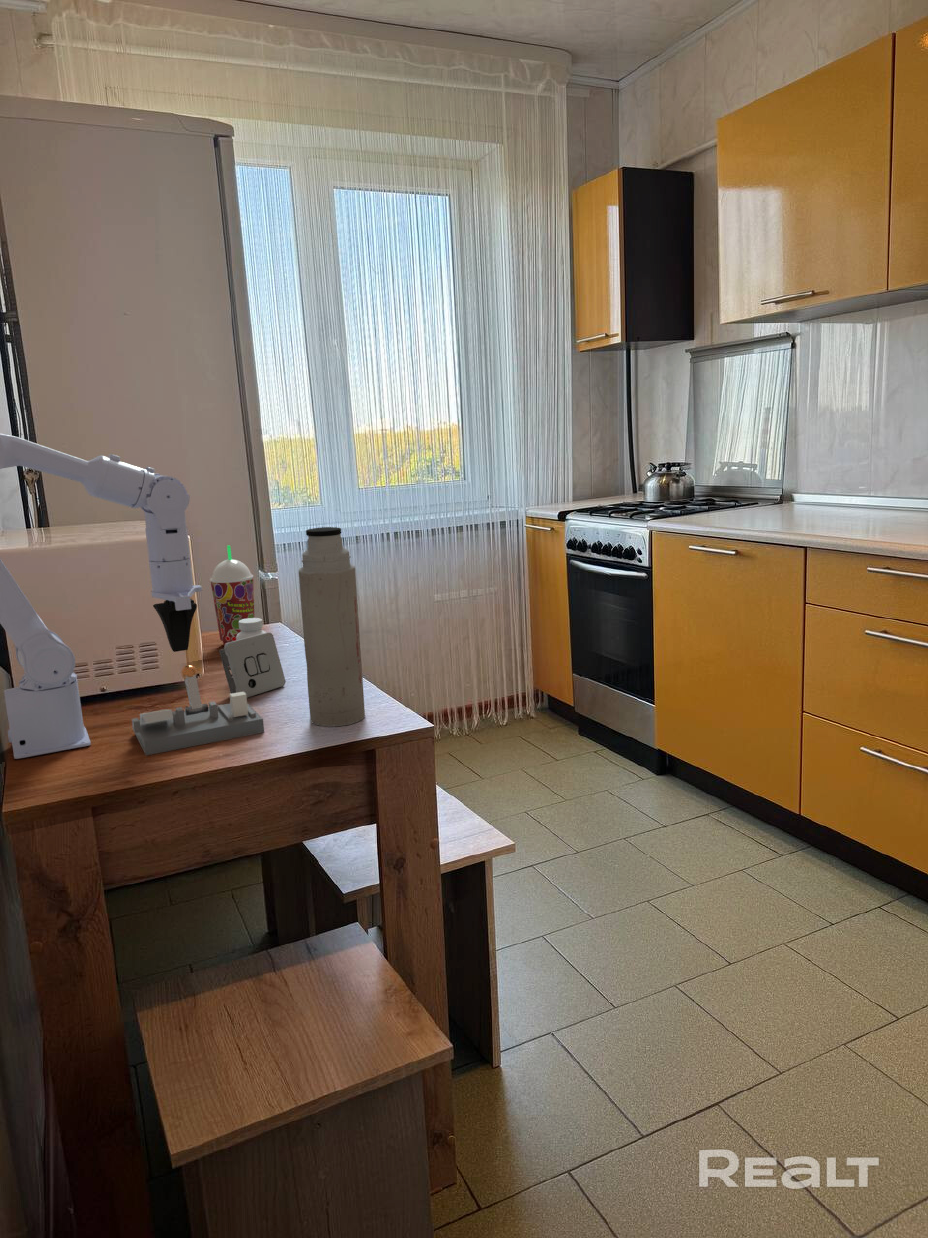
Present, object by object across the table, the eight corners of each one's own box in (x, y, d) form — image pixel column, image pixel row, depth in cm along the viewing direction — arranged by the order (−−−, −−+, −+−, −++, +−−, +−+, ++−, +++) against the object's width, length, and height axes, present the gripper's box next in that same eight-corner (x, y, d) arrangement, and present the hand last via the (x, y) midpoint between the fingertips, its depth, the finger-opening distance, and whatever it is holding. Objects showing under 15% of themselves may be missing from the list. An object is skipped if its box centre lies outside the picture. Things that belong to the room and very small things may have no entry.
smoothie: (237, 651, 170) (227, 549, 165) (207, 646, 174) (197, 547, 170) (268, 641, 177) (259, 543, 172) (239, 637, 181) (230, 541, 177)
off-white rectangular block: (234, 717, 123) (232, 696, 122) (231, 714, 125) (229, 694, 124) (248, 714, 124) (246, 694, 123) (245, 711, 125) (243, 691, 125)
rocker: (145, 723, 117) (144, 713, 117) (140, 722, 122) (139, 713, 122) (173, 718, 119) (171, 708, 119) (167, 717, 124) (165, 708, 124)
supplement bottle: (239, 679, 150) (233, 624, 148) (239, 671, 155) (234, 618, 153) (271, 676, 151) (266, 622, 149) (270, 668, 156) (265, 615, 154)
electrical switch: (241, 701, 138) (232, 644, 137) (221, 699, 142) (213, 643, 140) (287, 686, 145) (279, 632, 144) (267, 684, 149) (259, 631, 147)
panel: (141, 756, 116) (137, 727, 115) (130, 734, 124) (127, 708, 124) (264, 732, 123) (261, 705, 122) (246, 713, 132) (243, 687, 131)
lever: (187, 713, 121) (177, 664, 123) (185, 717, 123) (176, 669, 125) (209, 709, 123) (199, 661, 125) (207, 713, 125) (197, 666, 126)
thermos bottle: (366, 707, 132) (353, 523, 126) (363, 725, 125) (350, 529, 119) (313, 710, 132) (298, 526, 126) (307, 728, 124) (291, 532, 118)
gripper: (208, 562, 122) (218, 656, 125) (188, 551, 134) (197, 636, 137) (156, 567, 118) (167, 663, 121) (140, 555, 131) (150, 643, 134)
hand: (179, 650), depth 129 cm, fingers closed
